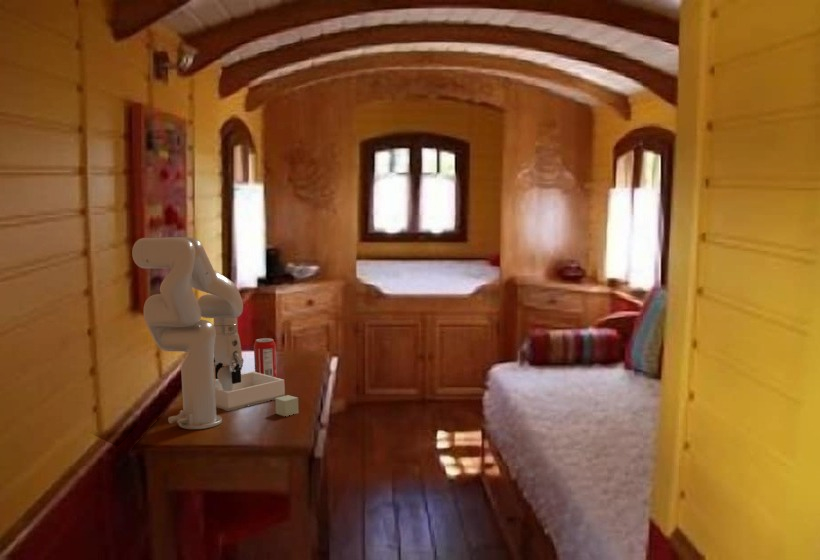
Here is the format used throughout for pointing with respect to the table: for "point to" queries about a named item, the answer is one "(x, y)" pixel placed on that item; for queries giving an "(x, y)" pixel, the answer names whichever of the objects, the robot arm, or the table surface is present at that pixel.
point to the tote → (249, 391)
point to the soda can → (265, 357)
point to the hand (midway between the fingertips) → (228, 380)
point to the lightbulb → (225, 378)
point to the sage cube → (286, 405)
